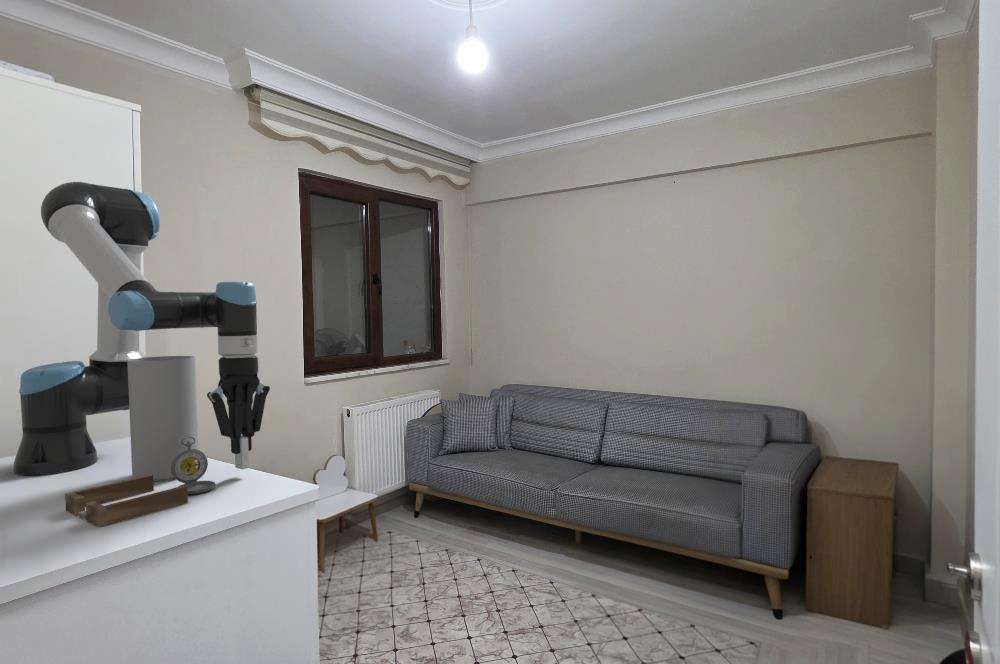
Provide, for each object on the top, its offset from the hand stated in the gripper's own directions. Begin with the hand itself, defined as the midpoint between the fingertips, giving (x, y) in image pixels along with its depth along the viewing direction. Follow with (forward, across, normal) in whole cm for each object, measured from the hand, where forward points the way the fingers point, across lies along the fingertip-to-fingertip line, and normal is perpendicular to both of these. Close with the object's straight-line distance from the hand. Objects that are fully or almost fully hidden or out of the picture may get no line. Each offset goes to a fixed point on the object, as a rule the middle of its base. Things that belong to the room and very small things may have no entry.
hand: (242, 467), depth 123 cm
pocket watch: (+2, -10, 0) cm, 10 cm away
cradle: (+2, -22, 0) cm, 22 cm away
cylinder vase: (+2, -8, +16) cm, 18 cm away
